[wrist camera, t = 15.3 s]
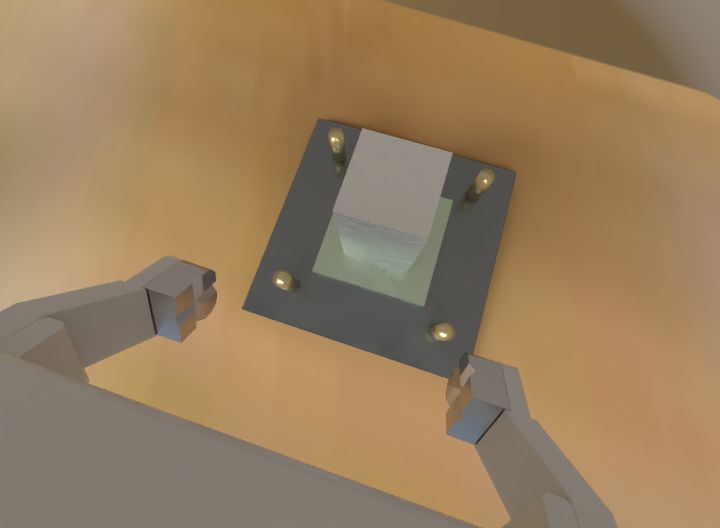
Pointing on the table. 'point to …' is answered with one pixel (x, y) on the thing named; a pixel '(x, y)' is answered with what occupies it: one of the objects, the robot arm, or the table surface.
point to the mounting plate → (369, 309)
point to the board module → (388, 218)
